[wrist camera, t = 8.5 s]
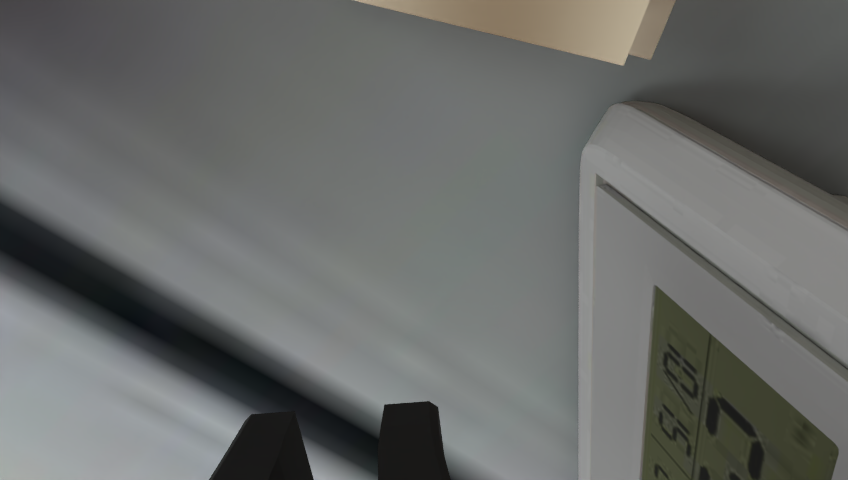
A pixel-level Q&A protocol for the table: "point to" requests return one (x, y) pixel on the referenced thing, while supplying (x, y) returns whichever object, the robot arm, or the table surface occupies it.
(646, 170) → the digital clock
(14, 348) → the table surface
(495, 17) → the lid
